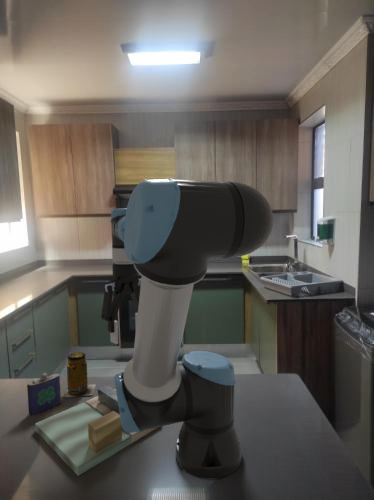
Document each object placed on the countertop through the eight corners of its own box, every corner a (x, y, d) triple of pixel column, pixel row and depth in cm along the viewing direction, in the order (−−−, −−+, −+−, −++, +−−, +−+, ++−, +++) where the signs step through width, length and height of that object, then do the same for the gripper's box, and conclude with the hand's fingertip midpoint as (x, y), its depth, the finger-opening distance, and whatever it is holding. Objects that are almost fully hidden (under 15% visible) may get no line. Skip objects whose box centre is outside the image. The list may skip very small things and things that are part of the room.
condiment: (69, 386, 108) (68, 350, 107) (96, 384, 109) (95, 349, 108) (63, 397, 101) (62, 360, 100) (92, 396, 102) (90, 358, 101)
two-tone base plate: (162, 424, 87) (161, 397, 86) (77, 476, 70) (76, 442, 69) (114, 394, 102) (113, 371, 102) (35, 430, 85) (34, 403, 84)
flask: (58, 400, 99) (57, 366, 98) (63, 404, 97) (61, 369, 96) (27, 414, 92) (25, 377, 91) (31, 418, 90) (29, 381, 89)
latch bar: (140, 416, 87) (140, 401, 86) (128, 423, 84) (127, 408, 84) (108, 395, 97) (108, 382, 97) (96, 401, 94) (96, 387, 94)
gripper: (145, 258, 105) (146, 327, 107) (85, 264, 90) (88, 345, 92) (161, 259, 100) (162, 332, 102) (100, 267, 85) (103, 352, 87)
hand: (127, 338), depth 97 cm, fingers open, 8 cm apart
